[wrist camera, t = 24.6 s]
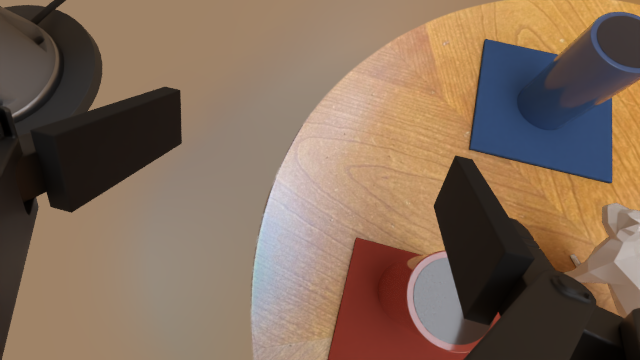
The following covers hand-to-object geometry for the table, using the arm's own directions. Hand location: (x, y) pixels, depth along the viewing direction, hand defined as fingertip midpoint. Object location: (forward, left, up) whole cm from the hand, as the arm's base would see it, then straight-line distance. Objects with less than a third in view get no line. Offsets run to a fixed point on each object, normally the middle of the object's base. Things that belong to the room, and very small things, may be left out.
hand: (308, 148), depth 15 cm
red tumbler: (+4, +11, -20) cm, 24 cm away
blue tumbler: (-21, +23, -20) cm, 37 cm away
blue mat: (-21, +23, -21) cm, 38 cm away
